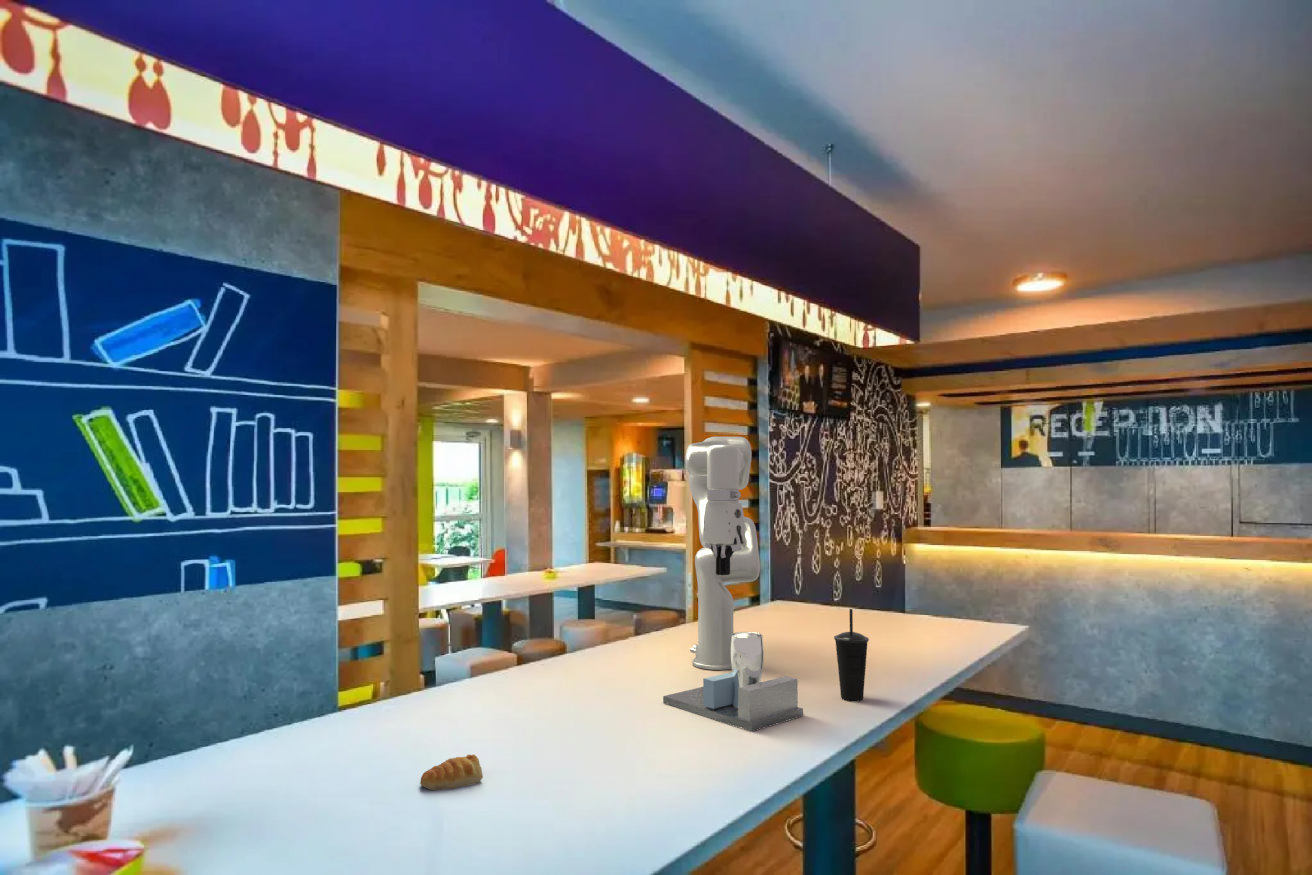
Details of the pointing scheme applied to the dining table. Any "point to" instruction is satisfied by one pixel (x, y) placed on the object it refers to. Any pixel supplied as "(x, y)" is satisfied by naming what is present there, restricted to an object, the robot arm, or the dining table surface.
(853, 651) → the drinking cup
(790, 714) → the vise base
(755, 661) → the beer glass
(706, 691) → the bar
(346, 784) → the dining table surface
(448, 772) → the pastry
